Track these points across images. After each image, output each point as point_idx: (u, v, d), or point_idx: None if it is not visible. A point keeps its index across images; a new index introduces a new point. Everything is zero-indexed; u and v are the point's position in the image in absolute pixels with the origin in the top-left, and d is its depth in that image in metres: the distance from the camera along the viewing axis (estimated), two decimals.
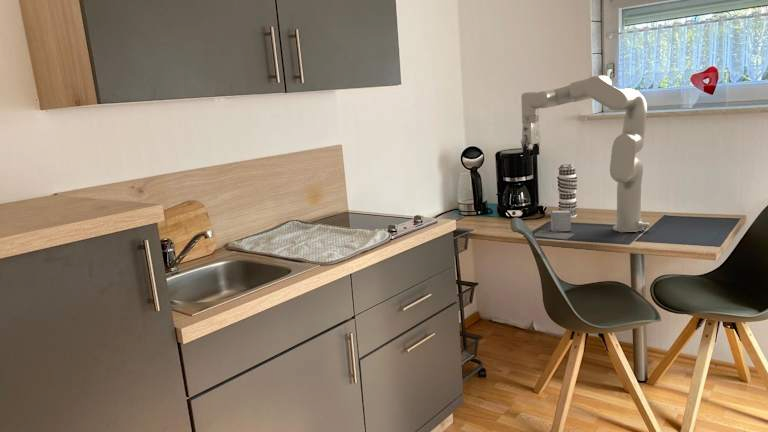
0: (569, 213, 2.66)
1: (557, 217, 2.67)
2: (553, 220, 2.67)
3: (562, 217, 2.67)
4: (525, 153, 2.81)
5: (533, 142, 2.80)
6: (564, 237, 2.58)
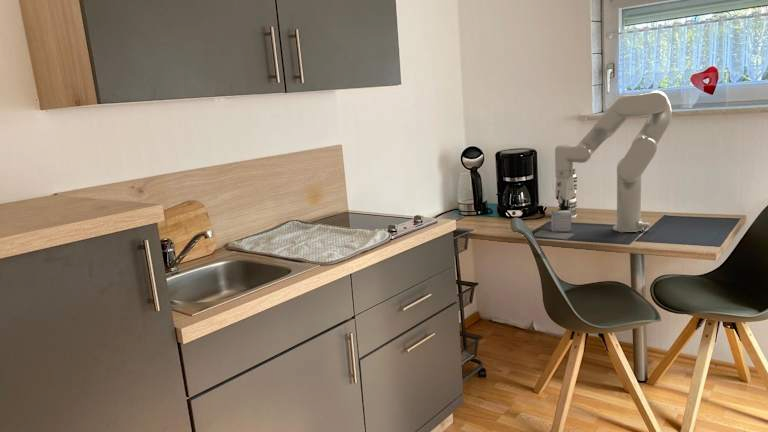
0: (570, 214, 2.65)
1: (558, 217, 2.66)
2: (553, 220, 2.67)
3: (563, 217, 2.66)
4: None
5: (567, 198, 2.66)
6: (564, 237, 2.58)
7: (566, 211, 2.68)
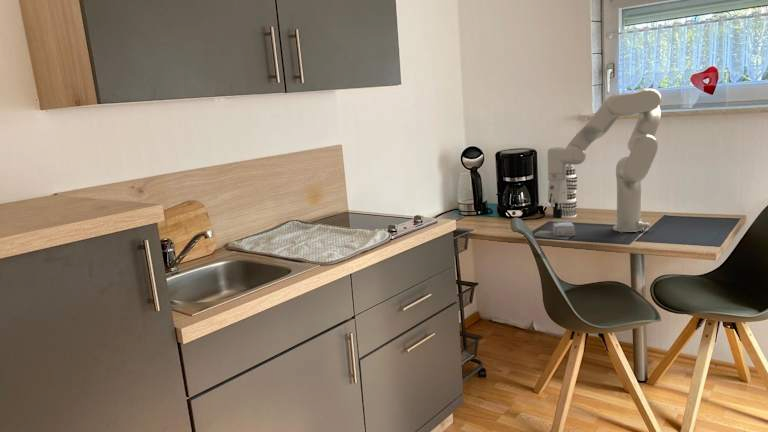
0: (573, 235, 2.60)
1: None
2: None
3: None
4: (556, 213, 2.65)
5: (560, 201, 2.61)
6: (564, 237, 2.58)
7: (570, 230, 2.59)
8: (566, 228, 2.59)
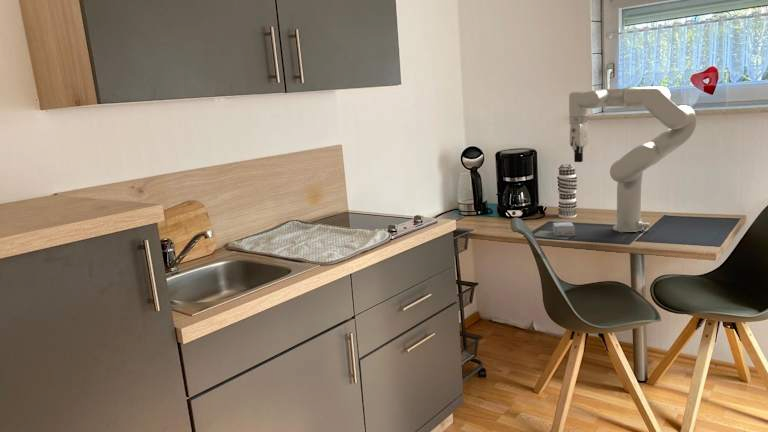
0: (573, 235, 2.60)
1: None
2: None
3: None
4: (577, 157, 2.70)
5: (581, 144, 2.66)
6: (564, 237, 2.58)
7: (570, 230, 2.59)
8: (566, 228, 2.59)
